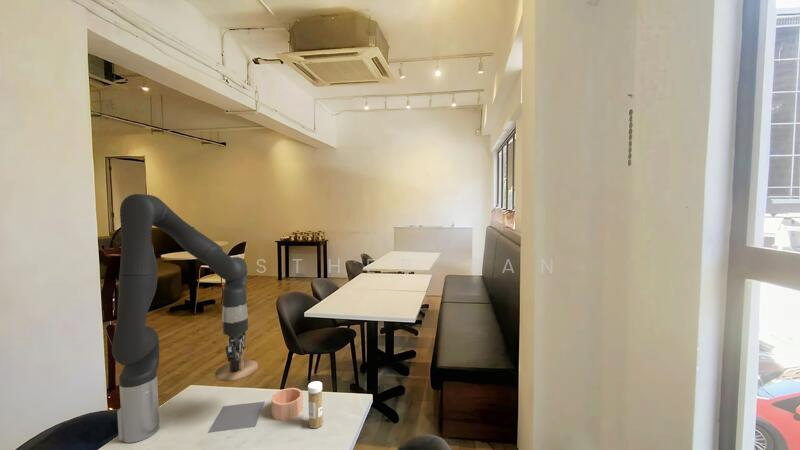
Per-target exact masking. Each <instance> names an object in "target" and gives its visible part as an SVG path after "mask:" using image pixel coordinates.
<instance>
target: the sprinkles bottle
mask: <svg viewBox="0 0 800 450" xmlns="http://www.w3.org/2000/svg"><path fill="white" fill-rule="evenodd" d="M322 391H323V382H321V381H319V380H318V381H316V380H315V381H311V382H310V383H308V385H307V393H308V402H307V403H308V420H309V422H308V427H310V428H311V429H318V428H321V427H322V426H323V424H324V419H323V411H324V410H323V392H322Z"/></svg>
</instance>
